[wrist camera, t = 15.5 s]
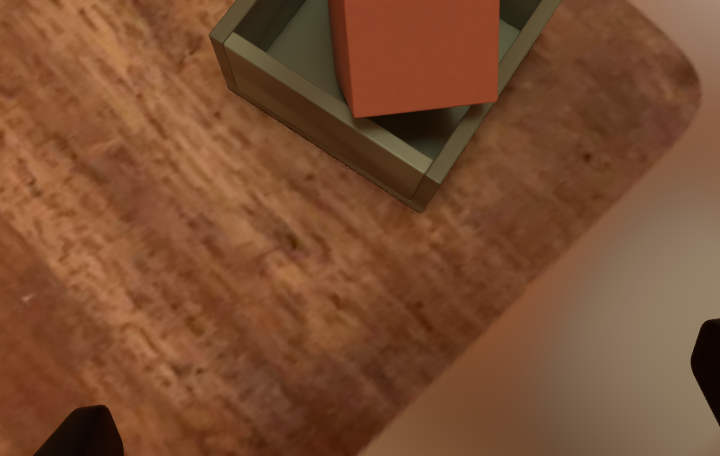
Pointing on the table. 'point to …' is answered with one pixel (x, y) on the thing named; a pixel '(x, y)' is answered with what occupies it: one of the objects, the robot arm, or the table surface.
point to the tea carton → (415, 54)
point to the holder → (328, 104)
